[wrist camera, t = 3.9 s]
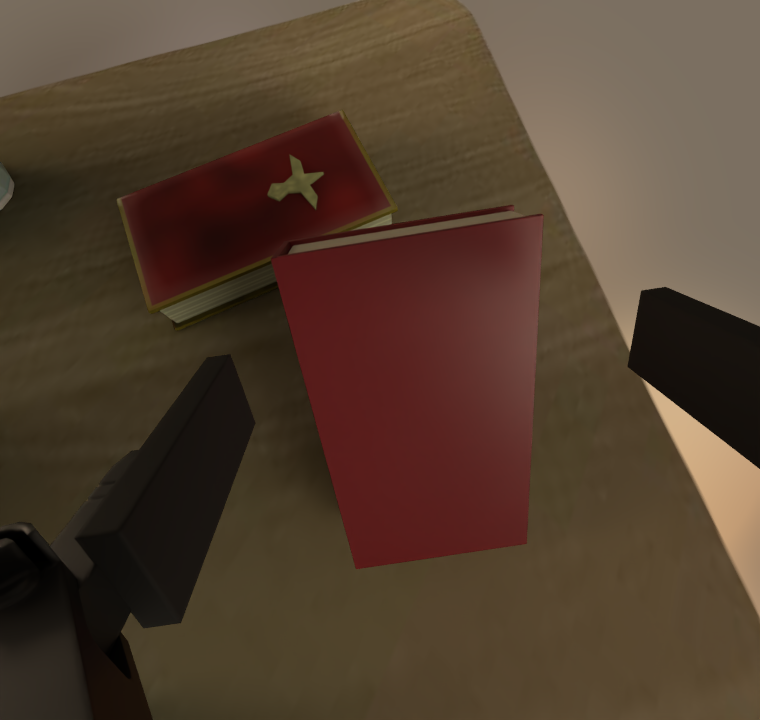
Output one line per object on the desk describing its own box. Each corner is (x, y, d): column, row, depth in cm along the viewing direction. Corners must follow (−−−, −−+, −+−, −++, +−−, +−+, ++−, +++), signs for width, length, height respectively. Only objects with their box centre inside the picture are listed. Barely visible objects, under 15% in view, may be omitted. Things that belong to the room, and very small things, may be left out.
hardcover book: (144, 224, 37) (112, 193, 33) (346, 142, 38) (340, 103, 34) (177, 330, 34) (145, 310, 30) (398, 236, 35) (397, 205, 31)
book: (284, 241, 19) (270, 258, 16) (511, 204, 18) (543, 214, 15) (355, 523, 28) (356, 569, 25) (507, 500, 28) (526, 543, 25)
